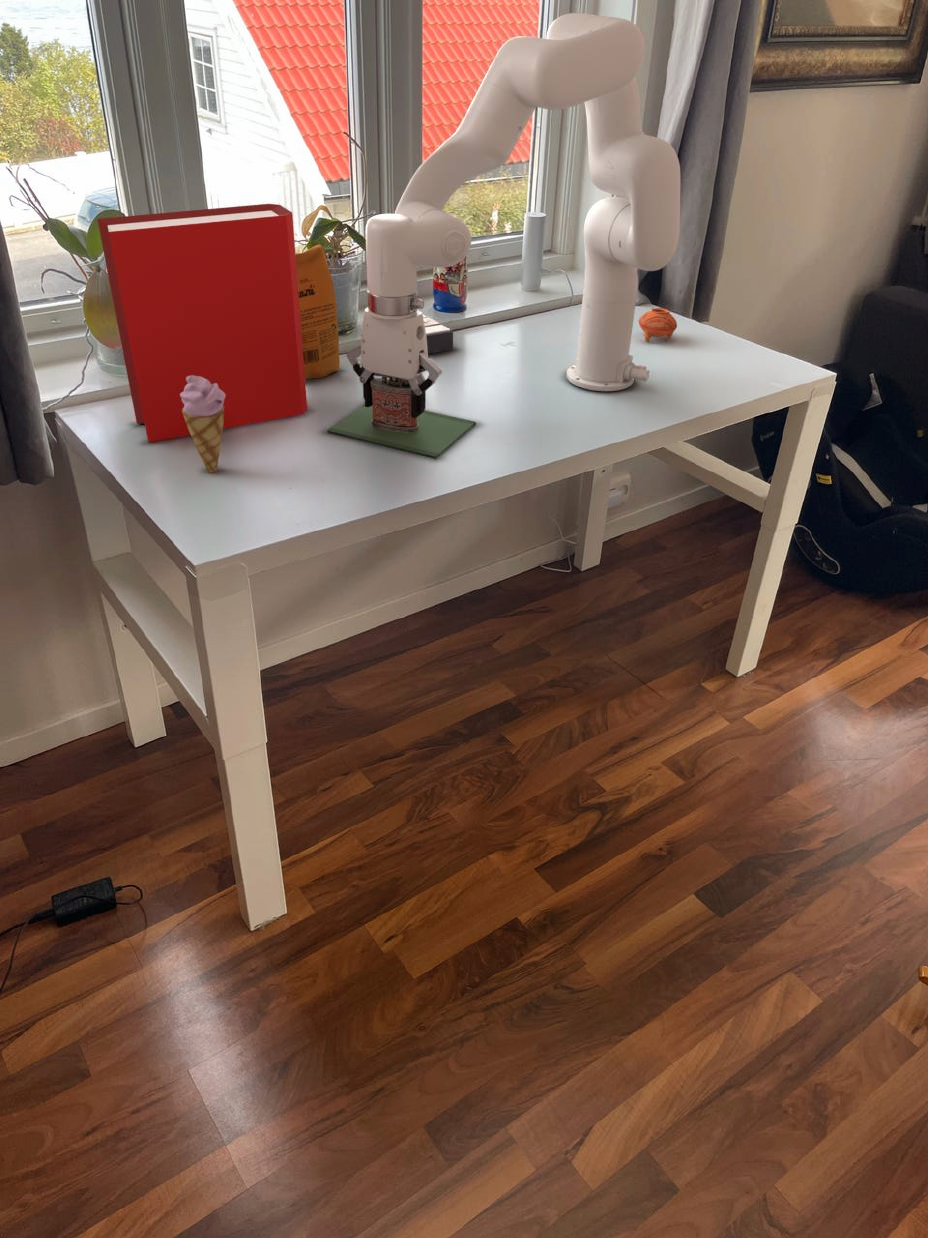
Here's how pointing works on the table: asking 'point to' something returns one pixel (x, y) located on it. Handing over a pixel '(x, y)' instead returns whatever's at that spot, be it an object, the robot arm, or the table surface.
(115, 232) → the book
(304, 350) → the coffee package
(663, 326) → the pot
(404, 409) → the lighter
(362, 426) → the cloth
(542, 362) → the table surface
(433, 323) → the card game box
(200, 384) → the ice cream cone
